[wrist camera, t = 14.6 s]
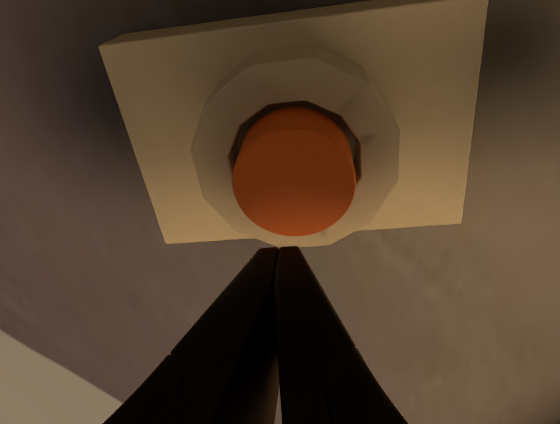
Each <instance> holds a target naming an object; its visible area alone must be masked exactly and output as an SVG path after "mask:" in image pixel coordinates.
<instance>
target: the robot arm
mask: <svg viewBox="0 0 560 424" xmlns="http://www.w3.org/2000/svg"><path fill="white" fill-rule="evenodd" d="M279 384H280V398H281V413H282V424H408V423H407V421H406V420H405V419H404V418H403V416H402V415H401V414H400V412H399V411H398V410H397V409H396V407H395V406H394V404H393V403H392V402H391V400H390V399H389V398H388V396H387V395H386V393H385V392H384V391H383V389H382V388H381V387H380V385H379V384H378V382H377V381H376V379H375V377H374V376H373V374H372V373H371V371H370V369H369V368H368V366H367V365H366V363H365V361H364V360H363V358H362V356H361V354H360V353H359V351H358V349H357V348H355V344H354V343H353V341H352V339H351V337H350V336H349V334H348V332H347V331H346V329H345V327H344V325H343V324H342V322H341V320H340V318H339V317H338V315H337V313H336V311H335V310H334V308H333V306H332V304H331V303H330V301H329V299H328V297H327V296H326V294H325V292H324V291H323V289H322V287H321V285H320V284H319V282H318V280H317V278H316V277H315V275H314V273H313V271H312V270H311V268H310V266H309V264H308V263H307V261H306V259H305V257H304V256H303V254H302V252H301V251H300V249H299V247H298V246H285V247H281V248H279V249H278V248H277V247H271V248H261V249H259V250H258V251H257V252H256V253H255V255H254V256H253V257H252V258H251V259H250V260H249V262H248V263H247V264H246V265H245V266H244V267H243V269H242V270H241V271H240V272H239V273H238V274H237V276H236V277H235V278H234V279H233V280H232V281H231V282H230V284H229V285H228V286H227V287H226V288H225V289H224V291H223V292H222V293H221V294H220V295H219V296H218V298H217V299H216V300H215V301H214V302H213V303H212V304H211V306H210V307H209V308H208V309H207V310H206V311H205V313H204V314H203V315H202V316H201V317H200V318H199V320H198V321H197V322H196V323H195V324H194V325H193V327H192V328H191V329H190V330H189V331H188V332H187V333H186V335H185V336H184V337H183V338H182V339H181V340H180V342H179V343H178V344H177V345H176V346H175V347H174V349H173V350H172V351H171V355H167V356H166V358H165V359H164V360H163V361H162V362H161V363H160V365H159V366H158V367H157V368H156V369H155V370H154V371H153V372H152V374H151V375H150V376H149V377H148V378H147V379H146V380H145V381H144V382H143V383H142V385H141V386H140V387H139V388H138V389H137V390H136V391H135V392H134V393H133V394H132V395H131V396H130V397H129V398H128V399H127V400H126V401H125V402H124V403H123V404H122V405H121V406H120V407H119V408H118V409H117V410H116V411H115V412H114V413H113V414H112V415H111V416H110V417H109V418H108V419H107V420H106V421H105V422H104V423H103V424H274V421H275V413H276V406H277V398H278V391H279Z"/></svg>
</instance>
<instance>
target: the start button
mask: <svg viewBox="0 0 560 424" xmlns="http://www.w3.org/2000/svg"><path fill="white" fill-rule="evenodd" d="M232 186H233V192H234V195H235V198H236V201H237V203H238V205H239V206H240V208H241V210H242V211H243V212H244V214H245V215H246V216H247V217H248V218H249V219H250V220H251V221H252V222H254V223H255V224H256V225H258V226H259V227H261V228H263V229H265V230H267V231H269V232H272V233H275V234H279V235H284V236H306V235H311V234H315V233H318V232H321V231H323V230H325V229H327V228H329V227H330V226H332V225H333V224H335V223H336V222H337V221H338V220H340V218H341V217H342V216H343V215H344V214H345V213H346V211H347V210H348V208H349V207H350V205H351V203H352V201H353V198H354V195H355V190H356V175H355V169H354V164H353V159H352V154H351V149H350V146H349V142H348V140H347V138H346V136H345V134H344V133H343V131H342V130H341V128H340V127H339V126H338V125H337V124H336V123H335V122H334V121H333V120H331V119H330V118H329V117H327V116H326V115H324V114H322V113H320V112H317V111H314V110H311V109H306V108H298V107H293V108H284V109H280V110H276V111H273V112H271V113H269V114H267V115H265V116H264V117H262V118H260V119H259V120H258V121H257V122H256V123H255V124H254V125H253V126H252V127H251V128H250V129H249V131H248V132H247V134H246V136H245V138H244V140H243V143H242V146H241V149H240V151H239V154H238V157H237V160H236V163H235V166H234V169H233V175H232Z"/></svg>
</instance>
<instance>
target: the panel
mask: <svg viewBox="0 0 560 424" xmlns="http://www.w3.org/2000/svg"><path fill="white" fill-rule="evenodd" d="M488 1H489V0H369V1H362V2H354V3H347V4H339V5H332V6H325V7H317V8H310V9H303V10H295V11H288V12H280V13H273V14H266V15H258V16H251V17H244V18H236V19H229V20H221V21H214V22H207V23H199V24H192V25H185V26H177V27H170V28H163V29H155V30H148V31H140V32H133V33H126V34H122V35H120V36H118V37H116V38H114V39H112V40H110V41H108V42H105V43H103V44H101V45H100V46H99V51H100V54H101V56H102V59H103V62H104V65H105V68H106V71H107V74H108V77H109V80H110V83H111V86H112V89H113V91H114V94H115V97H116V100H117V103H118V106H119V109H120V112H121V115H122V118H123V121H124V123H125V126H126V129H127V132H128V135H129V138H130V141H131V144H132V147H133V150H134V153H135V155H136V158H137V161H138V164H139V167H140V170H141V173H142V176H143V179H144V182H145V185H146V187H147V190H148V193H149V196H150V199H151V202H152V205H153V208H154V211H155V214H156V217H157V219H158V222H159V225H160V228H161V231H162V234H163V237H164V240H165V243H166V244H175V243H189V242H203V241H218V240H232V239H246V238H255V239H258V240H261V241H263V242H266V243H269V244H272V245H274V246H277V247H285V246H298V247H308V246H324V245H330V244H332V243H334V242H336V241H338V240H340V239H341V238H343V237H345V236H347V235H349V234H351V233H352V232H354V231H361V230H375V229H389V228H404V227H418V226H432V225H447V224H460V223H461V221H462V213H463V205H464V197H465V188H466V180H467V172H468V164H469V156H470V148H471V140H472V131H473V123H474V115H475V107H476V99H477V91H478V83H479V74H480V66H481V58H482V50H483V42H484V34H485V25H486V17H487V9H488ZM293 107H298V108H306V109H311V110H314V111H317V112H320V113H322V114H324V115H326V116H327V117H329V118H330V119H331V120H333V121H334V122H335V123H336V124H337V125H338V126H339V127H340V128H341V130H342V131H343V133H344V134H345V136H346V138H347V140H348V142H349V146H350V149H351V154H352V159H353V164H354V169H355V175H356V190H355V195H354V198H353V201H352V203H351V205H350V207H349V208H348V210H347V211H346V213H345V214H344V215H343V216H342V217H341V218H340V220H338V221H337V222H336V223H335V224H333V225H332V226H330V227H329V228H327V229H325V230H323V231H321V232H318V233H315V234H311V235H306V236H284V235H279V234H275V233H272V232H269V231H267V230H265V229H263V228H261V227H259V226H258V225H256V224H255V223H254V222H252V221H251V220H250V219H249V218H248V217H247V216H246V215H245V214H244V212H243V211H242V210H241V208H240V206H239V205H238V203H237V201H236V198H235V195H234V192H233V186H232V175H233V169H234V166H235V163H236V160H237V157H238V154H239V151H240V149H241V146H242V143H243V140H244V138H245V136H246V134H247V132H248V131H249V129H250V128H251V127H252V126H253V125H254V124H255V123H256V122H257V121H258V120H259V119H260V118H262V117H264V116H265V115H267V114H269V113H271V112H273V111H276V110H280V109H284V108H293Z"/></svg>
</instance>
